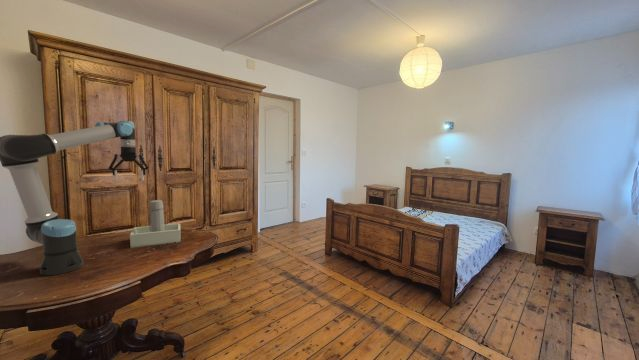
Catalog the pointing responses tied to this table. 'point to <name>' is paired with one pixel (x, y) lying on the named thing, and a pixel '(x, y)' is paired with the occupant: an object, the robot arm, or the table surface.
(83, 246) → the table surface
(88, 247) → the table surface
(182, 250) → the table surface
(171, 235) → the pale green storage bin
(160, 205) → the water bottle
